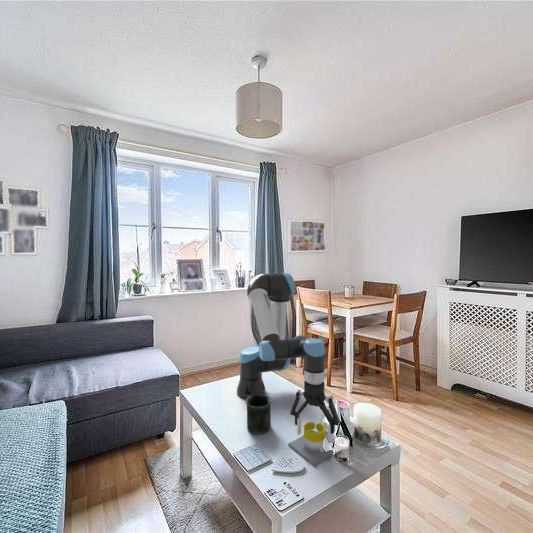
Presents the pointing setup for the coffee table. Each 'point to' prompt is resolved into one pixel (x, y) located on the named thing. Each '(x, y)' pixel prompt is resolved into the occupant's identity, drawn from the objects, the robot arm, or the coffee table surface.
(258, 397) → the mug
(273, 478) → the coffee table surface
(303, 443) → the plate
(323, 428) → the bracelet
